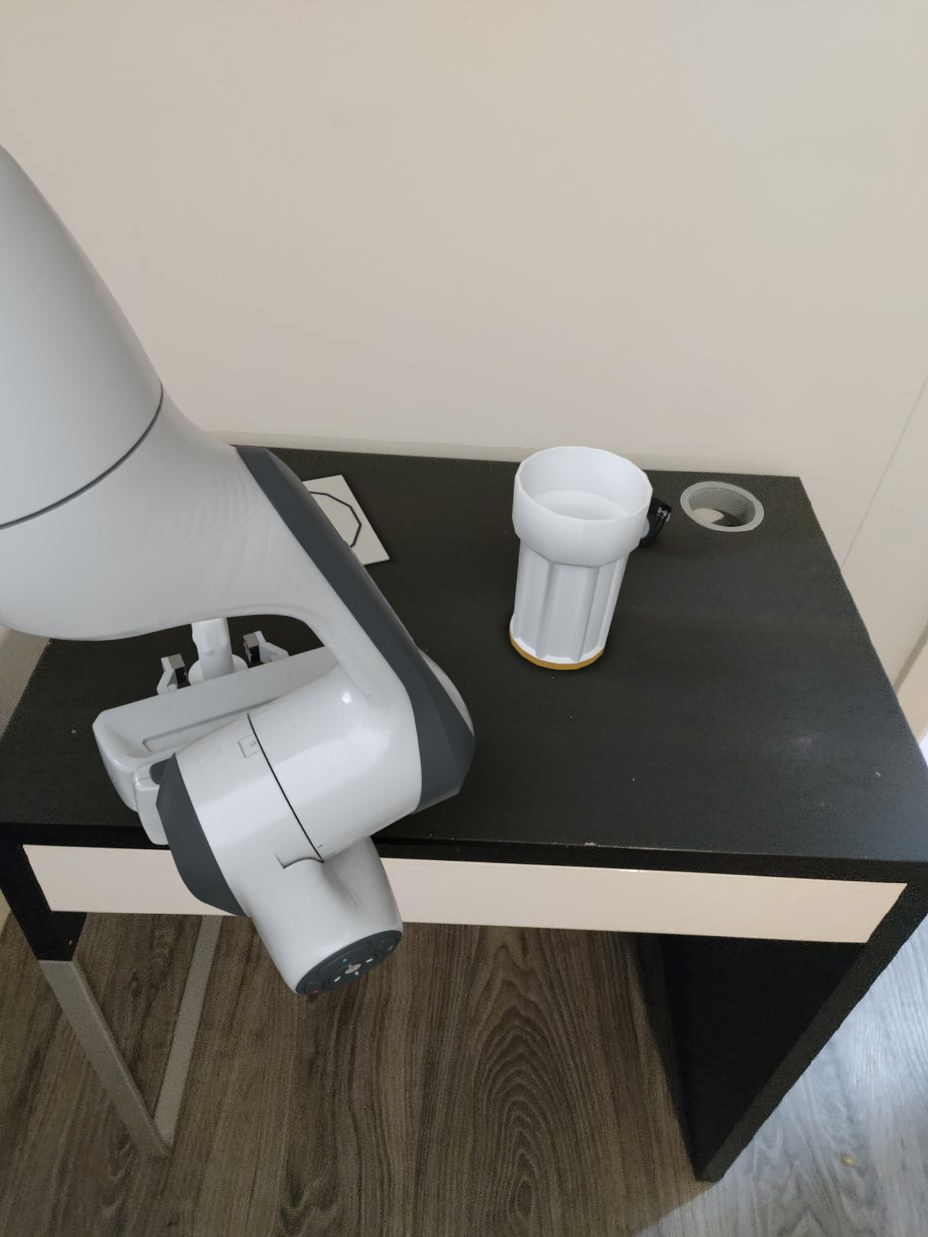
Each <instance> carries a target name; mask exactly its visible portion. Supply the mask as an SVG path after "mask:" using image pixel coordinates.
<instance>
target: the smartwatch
mask: <svg viewBox="0 0 928 1237" xmlns="http://www.w3.org/2000/svg"><path fill="white" fill-rule="evenodd" d="M672 508H673V507H671V505H669V504H668V503H666V502H664V500H661V499H659V498H657V497H656V496H651V501H650V505H649V509H648V512H647V516H646V519H645V523H644V527H643V530H642V534H641V538H640V541H639V545H638V546H641V547H645V546H649V545H651V544H652V543H653V542H655V540H656V539H657V538H658V537H659V535H660V533H661V531H662V530H663V528H664V526H665V523H666V522H668V521H669V520H670V517H671V513H672V510H673V509H672Z"/></svg>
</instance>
